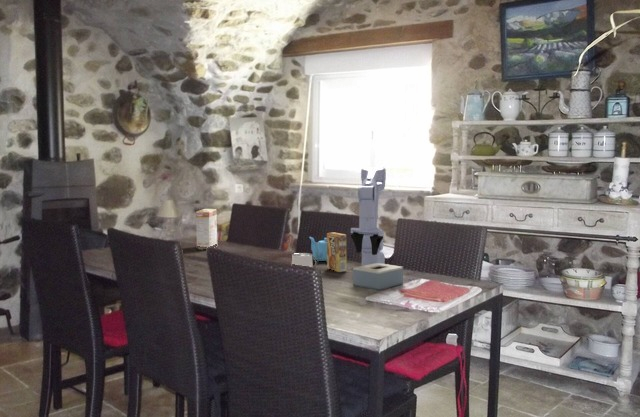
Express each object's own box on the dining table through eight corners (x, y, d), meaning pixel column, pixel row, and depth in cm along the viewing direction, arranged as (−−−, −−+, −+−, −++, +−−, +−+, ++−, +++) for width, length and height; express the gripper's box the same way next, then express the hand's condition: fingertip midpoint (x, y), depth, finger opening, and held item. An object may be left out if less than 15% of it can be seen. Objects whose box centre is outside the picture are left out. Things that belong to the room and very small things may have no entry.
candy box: (347, 271, 252) (347, 234, 250) (338, 272, 249) (338, 235, 248) (334, 268, 259) (334, 232, 258) (326, 269, 257) (326, 232, 255)
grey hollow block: (377, 279, 235) (377, 262, 235) (402, 284, 227) (402, 266, 226) (353, 285, 225) (353, 267, 225) (378, 290, 217) (379, 272, 216)
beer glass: (291, 297, 207) (291, 253, 206) (312, 296, 208) (311, 252, 206) (292, 302, 200) (291, 256, 199) (313, 301, 201) (313, 256, 200)
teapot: (340, 257, 286) (340, 235, 285) (346, 262, 271) (346, 239, 270) (309, 258, 284) (308, 236, 283) (313, 263, 269) (313, 240, 268)
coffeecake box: (204, 245, 322) (203, 208, 320) (217, 245, 321) (217, 208, 319) (196, 250, 307) (195, 211, 305) (209, 250, 306) (209, 211, 304)
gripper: (345, 217, 234) (345, 252, 235) (375, 219, 224) (374, 256, 225) (357, 216, 239) (357, 250, 240) (387, 218, 229) (386, 254, 230)
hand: (366, 253), depth 233 cm, fingers open, 7 cm apart
